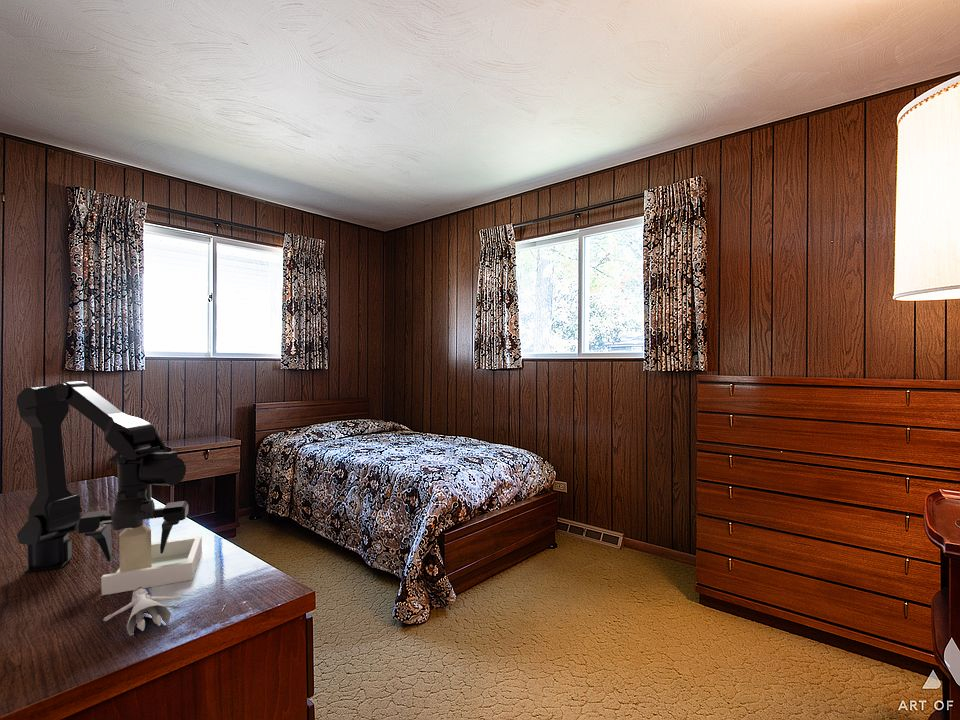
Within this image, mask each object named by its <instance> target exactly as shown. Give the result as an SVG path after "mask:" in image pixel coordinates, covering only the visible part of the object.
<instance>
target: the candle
mask: <svg viewBox="0 0 960 720" xmlns="http://www.w3.org/2000/svg"><path fill="white" fill-rule="evenodd" d="M151 543H152V528H150V527H148V526H147V525H146V524H145V523H144V522H142V525H141V526H139V527H137V528H124V529H122V531H120V533H119V535H118V546H119V547H118V549H119V567H120V572H125V571H131V570H137V569H143V568H150V567H152V555H151Z"/></svg>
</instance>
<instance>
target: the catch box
mask: <svg viewBox="0 0 960 720" xmlns="http://www.w3.org/2000/svg"><path fill="white" fill-rule="evenodd" d="M202 541H203V538H202V535H199V536H193V537H191V536H190V537H186V538H179V539H172V540H167V543H166V546H165V549H164V552H163V553H162V554H161V553H160V544H161V541H158V542H151V555H152V567H150V568H143V569H137V570H131V571H125V572H120V566H119V568H118V569H117V570H116V572H113V573H107V574H103V575H102V576H101V579H100V580H101V582H100V583H101V585H100V586H101V596H107V595H112V594H118V593H123V592H130V591H134V590H135V589H136V588H138V587H142V588H143V589H144V588H145V589H147V588H152V587H157V586H159V587H160V586H164V585H171V584H176V583H182V581H183V582H186V581H187V580H188V581H193V580H194V576H195V574H196V573H195V572H196V571H195V570H197V568H196V567H198V565H199V562H200V558H201V555H202V550H203V547H202V545H203V544H202V543H203V542H202ZM199 557H200V558H199ZM194 573H195V574H194ZM192 579H193V580H192ZM188 581H187V582H188Z"/></svg>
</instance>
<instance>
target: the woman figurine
mask: <svg viewBox="0 0 960 720" xmlns="http://www.w3.org/2000/svg"><path fill="white" fill-rule="evenodd" d="M148 593H149V592H148V591H147V588H142V587H138V588H136V589H135V590H133V591H132V597H131V601H130V602H129V603H128V604H126V605H124V606H122V607H121V608H119V609H118V610H115V612H113V613H110V614H108V615H107V616H105V617H104V618H103V620H102V621H104V622H107V621H108V620H110V619H112V618H113V617H115V616H117V615H119V614H121V613H123V612H124V611H127V610H129V609H131V608H132V610H131V611H130V612H131V613H130V616H129V618H128V621H127V624H126V627H125V628H126V630H127V633H128V635H129V636H132V632H133V628H134V625H135V623H136V620H137V621H138V622H137V625H136V628H137V629H139V630H140V631H142V632H143V631H145V627H146V621H145V618H144V619H143V614H144V613H148V614H150V615H151V616H152V618H151V619H152V622H153V623H154V624H155V625H157V626H159V627H160V626H161V625H162V624H161V618H162V620H163V621H164V622H165V623H166V624H167V625H169V623H170V620H171V615H172V613H171V612H170V611H169V609H168V608H167V606H166V605H164V604H162V603H160V602H162V601H171V600H172V601H180V600H182V598H183V597H182V595H174V596H153V595H152V596H151V595H149V594H148ZM132 637H133V636H132Z"/></svg>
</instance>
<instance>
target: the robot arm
mask: <svg viewBox="0 0 960 720" xmlns="http://www.w3.org/2000/svg"><path fill="white" fill-rule="evenodd" d="M16 405H17V408H18V413H19V418H21V420H22V421H23V422H25V424H27V425H28V427H29V428H30V430H31V438H32V439H31V440H32V449H33V452H32V453H33V460H34V461H33V463H34V470H35V483H36V493H37V494H36V495H35V497H34V499H33V501H31V504H30V505H29V507H28V520H27V522H26V523H25V524H24V525H23V526H22V528H20V530H19V531H18V532H17V534H16V536H17V541H18V543H19V545H20V544H21V545H27V568H25V569H24V573H25V574H26V573H33V572H39V571H40V572H41V571H48V570H53V569H59V568H63V567H64V566H65V565H66V564H67V563H68V562H69V561H70V560H71V558H72V557H73V550H72V549H73V547H72V546H73V542H72V539H71V538H70V539H69V536H70V535H69V534H71V533H74V532H76V534H79V535H80V534H84V536H85V537H91V538H93V539H94V540H95V541H96V542H97V544H98V545H99V546H100V548H101V550H102V553H103V555H104V556H105V558H106V560H107V561H106V562H111V561H112V559H113V548H112V547H113V546H112V533H111V532H112V531H111V526H112V530H114V531H121V530H124V529H125V528H137V527H139V526H141V525H142V523H144V522H143V521H145V520H151V519H152V520H153V519H160V518H162V519H163V521H162V524H161V536H160V537H161V538H160V542H161V544H160V553H161V554H162V553H163V552H164V549H165V546H166V543H167V541H169V540H168V539H169V537H170V534H171V531H172V529H173V527H174V526H176V525H178V524H179V523H180V521H181V522H182V521H184V520H186V518H187V516H188V514H189V504H188V503H189V502H188V501H186V500H182V501H174V502H167V503H166V505H165V506H164V507H161V508H155V507H156V506H155V501H154V499H152V485H154V486H171V487H172V486H177V485H179V483H181V482H182V481H183V480H184V478H185V476H186V471H187V466H186V464H185V462H184V460H183V459H182V458H180V457H179V456H178V452H177V451H169V452H168V448H167V447H166V445H165V443H164V442H163V440H162V439H161V437H160V436H159V434H158V433H157V431H156V428H155V426H154V425H153V424H152V423H151V422H148V421H146V420H145V419H142V418H140V417H137V416H132V415H128V414H126V413H124V412H123V411H121V410H120V409H119V408H117V407H116V406H115V405H113V404H112V403H111V402H110V401H108V400H107V399H105V398H104V397H103V396H102V395H100V393H97V392H96V391H95V390H94V389H92V388H91V385H90V384H89V383H88V382H87V381H83V380H81V381H64V382H61V383H58V384H54V385H45V386H34V387H33V386H30V387H26V388H23V389H22V390H21V391H20V393H18V394H17V397H16ZM70 406H71V407H72V408H74V409H75V410H76V411H78V412H79V413H80V414H81V415H83V416H84V417H85V418H86V419H88V420H89V422H91V423H92V424H94V425H95V426H97V427H98V428H99V429H100V430H101V431H102V432H103V435H104V441H105V442H106V443H107V444H108V445H109V446H110V447H111V449H112V451H113V450H114V452H115V454H114V455H113V456H111V457H110V458H108V462H109V463H113V464H114V463H117V495H116V496H117V497H116V502H115V505H114V507H113V509H112V512H111V513H109V511H108V510H107V509H103V510H97V511H96V510H94V511H87V512H85V513H84V515H83V516H81V513H82V512H83V510H82V507H81V497H80V495H79V494H76V495H74V494H73V493H72V492H71V490H69V489H68V483H67V475H66V473H67V472H66V462H65V454H64V453H65V452H64V441H63V430H62V424H63V422H64V421H65V419H66V418H67V416H68V415H69V412H70ZM111 524H112V525H111Z"/></svg>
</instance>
